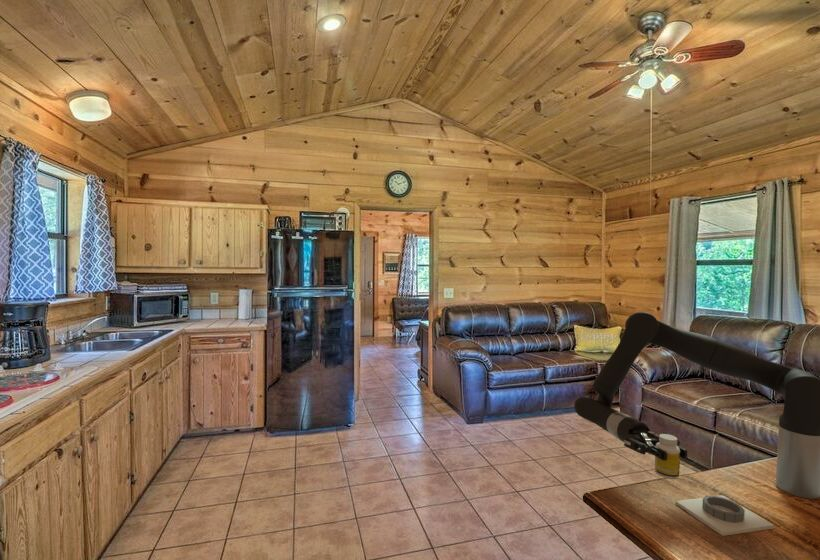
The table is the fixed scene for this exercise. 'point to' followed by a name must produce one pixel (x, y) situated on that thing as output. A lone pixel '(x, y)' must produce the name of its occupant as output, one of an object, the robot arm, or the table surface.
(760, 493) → the table surface
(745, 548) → the table surface
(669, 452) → the supplement bottle
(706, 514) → the socket plate
